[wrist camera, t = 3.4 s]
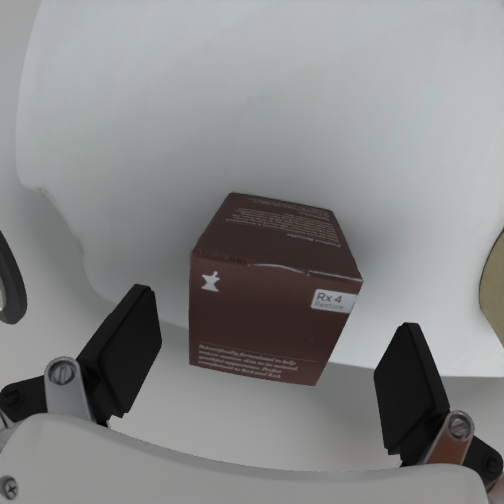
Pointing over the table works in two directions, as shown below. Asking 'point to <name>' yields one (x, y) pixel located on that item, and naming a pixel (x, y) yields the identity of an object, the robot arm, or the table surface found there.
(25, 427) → the robot arm
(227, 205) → the box
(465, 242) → the table surface
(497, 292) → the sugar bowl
